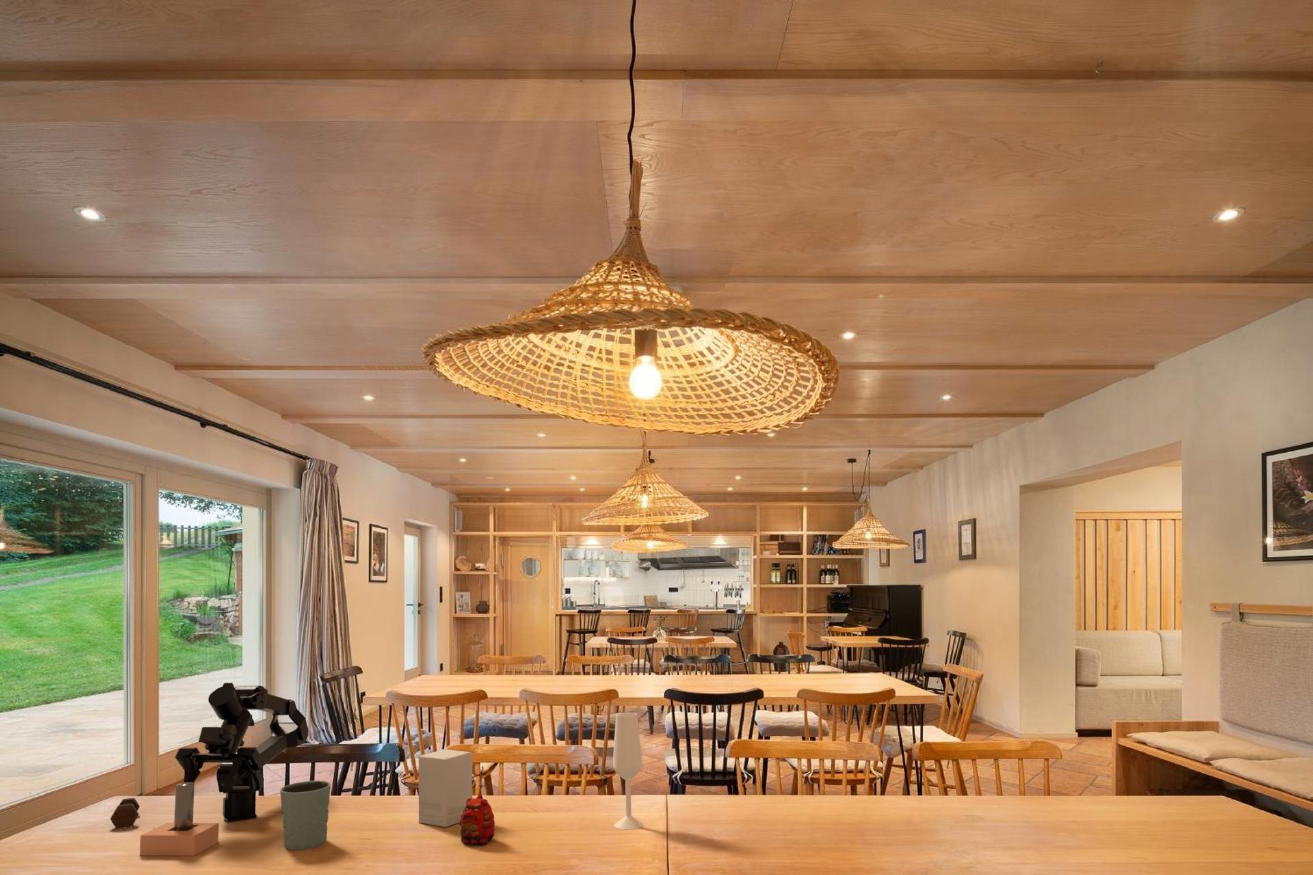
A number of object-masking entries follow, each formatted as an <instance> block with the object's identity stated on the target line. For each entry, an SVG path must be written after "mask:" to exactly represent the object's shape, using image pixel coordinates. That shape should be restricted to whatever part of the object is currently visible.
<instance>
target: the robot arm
mask: <svg viewBox="0 0 1313 875" xmlns="http://www.w3.org/2000/svg"><path fill="white" fill-rule="evenodd" d="M208 703H209V705H210V707H211V709H212V710H213V711H214V713H215V715H216V716H217V717H218V719H219V720H221V721H222V723H221V725H220V726H203V727H201V729H200V735H199V738H198V742H199V743H203V744H204V748H205V750H206V751H208V752H207V753H205V752H201V751H200V750H199V748H198V747H196V746H195V747H193V746H192V747H188V746H187V747H185V746H184V747H180V748H179V749H178V750H177V752H176V754H175V756H174V759H176V761H177V763H179V765H180V767H181V768H182V769H183V771H184V773H183V783H187V782H193V783H194V784H195V782H196V780H198V777H199V776H200V774H201V769H202V768H203V767H204V765H205V764H207V763H208V764H212V763H215V764H216V763H218V764H220V765H219V767H218V768H217V770H216V782H217V787H218V792H219V793H222V794H224V795H225V797H223V799H222V817H223V818H224V819H225V820H226V822H234V821H235V822H236V821H240V820H241V821H242V820H249V819H254V818H258V814H257V812H256V810H257V809H256V805H257V802H256V800H257V797H256V796H257V792H258V791H261V790H262V789H263V787H264V780H265V778H264V777H263V775H262V774H261V772H260V771H261V769H262V768H263V767H264V766H266V765H267V764H268V763H270V761H272V760H273V759H274V758H276V757H277V756H278V755H280V754H281V753H282V752H284V751H285V750H287V749H292V748H298V747H300V746H302V745H304V744H305V742H307V741H306V740H308V738H309V733H310V732H309V728H308V723H307V719H306V717H305V715H304V714H303V713H302V712H300V710H299V709H298V707H297V705H296V704H297V703H296V701H295V700H292V699H287V698H283V697H281V696H277V695H274V694H270V693H269V690H268V689H267V688H265V687H264V686H263V685H236V686H235V685H234V682H224V683H223V685H222V686H220V687H218V688H215V690H213V691H212V692H211V693H210V694H209V695H208ZM249 710H250V711H252V710H253V711H261V712H265V713H269V714H271V715H272V720H271V722H270V723H269V730H270V733H271V736H270V737H269V738H267V739H266V740H264V741H262V742H261V743H260V744H258V745H257V746H252V747H251V746H244V745H245V741H244V740H243V739H244V738H245V735H246V733H247V730H248V729H249V727H254V726H255V720H254V718H253V714H251V712H250V711H249ZM279 716H288V718H289V719H290V720H291V721H292V722H288V721H287V722H286V721H285V722H280V721H279V720H278V717H279ZM204 763H205V764H204Z"/></svg>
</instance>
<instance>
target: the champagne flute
mask: <svg viewBox="0 0 1313 875" xmlns="http://www.w3.org/2000/svg"><path fill="white" fill-rule="evenodd" d="M642 756H643V755H642V746H641V738H640V729H639V720H638V713H636V712H619V713H616V715H615V726H614V742H613V754H612V767H613V769H614V771H615V772H616V774H617V775H619V777H620V778H622V779H623V780H624V781H625V816H624V817H623V818H622V819H619V820H618V821H617V822H615V823H614V825H613V826H614V828H616V829H621V830H634V829H635V830H636V829H639V828H642V827H644V825H645V824H644V823H643V822H642V821H640V820H639V819H637V818H636V817H634V816H633V815H632V793H631V792H632V791H631V790H632V788H631V785H632V783H631V780H633V779H634V778H635V777H636V776H637V775H638V774H639V773H640V771H641V769H642V768H643V757H642Z"/></svg>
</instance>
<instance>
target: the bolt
mask: <svg viewBox="0 0 1313 875" xmlns="http://www.w3.org/2000/svg"><path fill="white" fill-rule="evenodd" d="M140 807H141V805H140V804H139V803H138V801H137V799H136V798H135V797H127V798H122V799H121V801H120V802H119V804H118V805H117V806H116V808H115V809H114V812H113V813H112V815H111V816H110V821H111V822H112V824H113V826H114V828H115V829H125V828H124V827H126V828H130V827H131V826H132V827H133V825H134V823H136V821H137V818H138V817H139V815H140V814H139V812H138V810H139V809H140ZM132 827H131V828H132Z"/></svg>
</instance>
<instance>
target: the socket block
mask: <svg viewBox="0 0 1313 875" xmlns="http://www.w3.org/2000/svg"><path fill="white" fill-rule="evenodd" d="M219 824H220V823H218V822H216V823H215V822H211V823H209V822H208V823H207V822H193V828H192V829H190V830H188V831H174V822H165V823H164V824H162V825H160V826H157V827H156V828H154V829H151V830H149V831H147V832H145V833H142V834H140V839H139V840H140V844H139V845H140V846H139V856H178V857H180V856H182V857H183V856H196V855H198V854H201V853H202V852H203V851H205V850H208V849H209V848H210V847H213V846H214V845H216V844H218V843H219V833H220V832H219V826H220V825H219Z"/></svg>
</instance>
